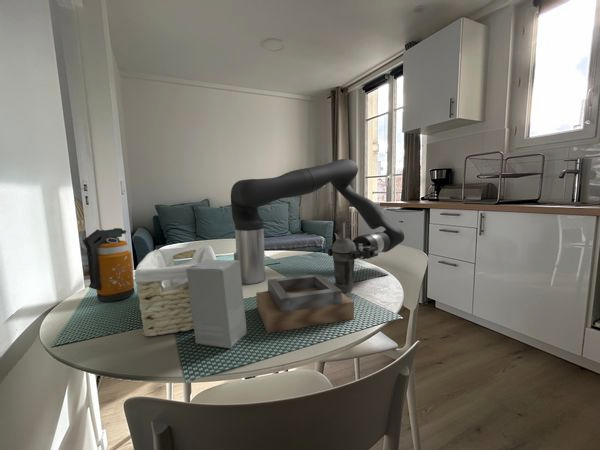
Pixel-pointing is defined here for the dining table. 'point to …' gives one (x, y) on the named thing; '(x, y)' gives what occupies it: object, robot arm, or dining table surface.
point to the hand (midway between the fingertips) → (340, 254)
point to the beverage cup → (343, 262)
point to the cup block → (302, 303)
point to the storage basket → (167, 289)
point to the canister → (109, 265)
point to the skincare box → (217, 302)
